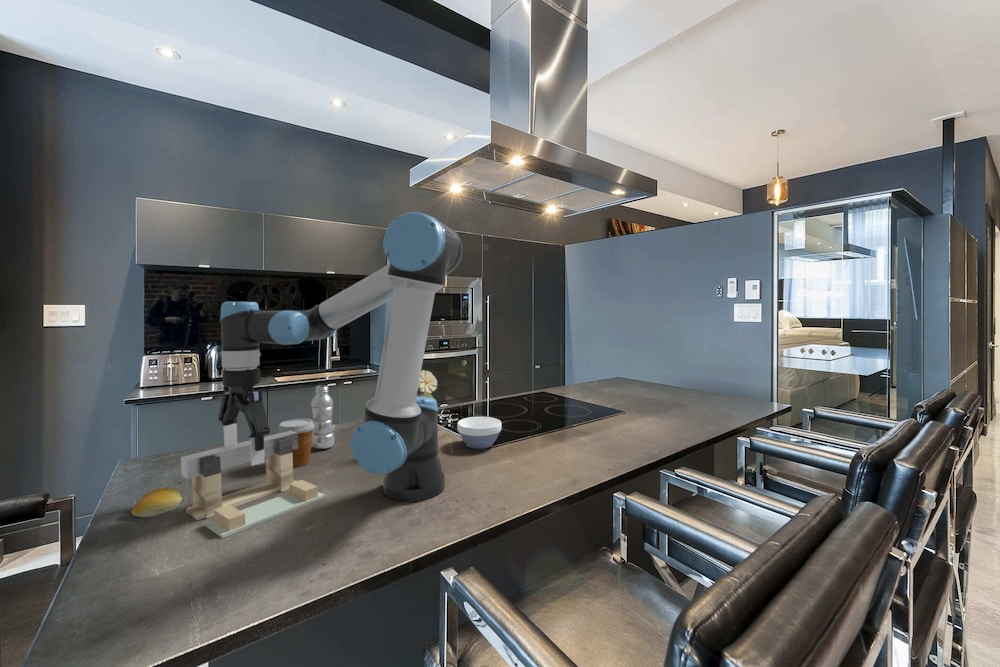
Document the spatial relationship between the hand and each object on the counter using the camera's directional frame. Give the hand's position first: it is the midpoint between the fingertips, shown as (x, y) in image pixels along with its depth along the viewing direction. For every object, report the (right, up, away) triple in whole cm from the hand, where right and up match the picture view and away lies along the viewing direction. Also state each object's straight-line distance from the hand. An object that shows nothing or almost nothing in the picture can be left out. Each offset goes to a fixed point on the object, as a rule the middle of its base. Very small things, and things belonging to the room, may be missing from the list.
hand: (243, 457), depth 100 cm
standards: (0, -10, +1) cm, 10 cm away
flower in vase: (+34, -8, +37) cm, 51 cm away
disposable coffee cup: (+2, -9, +23) cm, 24 cm away
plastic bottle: (+4, -8, +36) cm, 37 cm away
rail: (0, -1, 0) cm, 1 cm away
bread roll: (-17, -11, -5) cm, 20 cm away
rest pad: (+9, -10, -6) cm, 15 cm away
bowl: (+54, -8, +39) cm, 67 cm away
